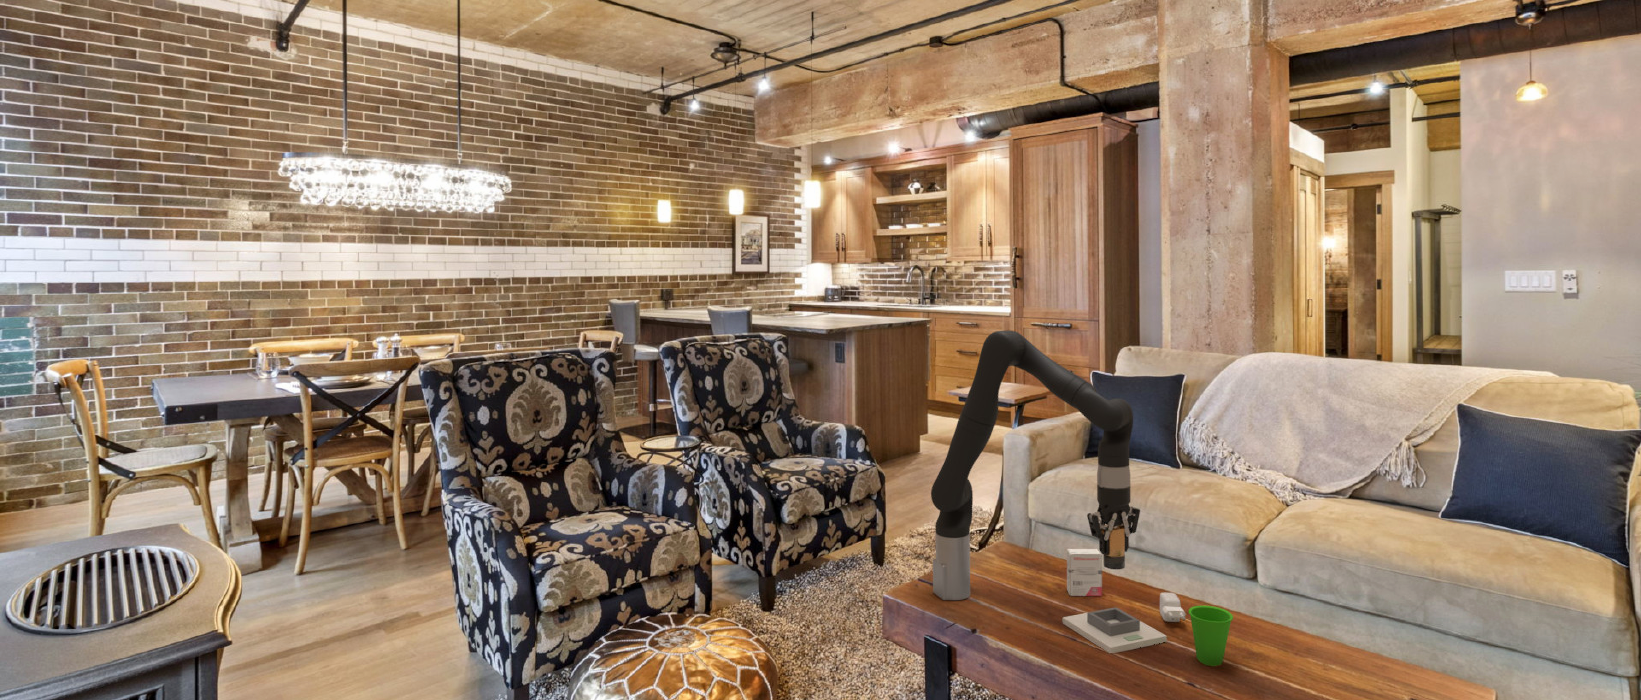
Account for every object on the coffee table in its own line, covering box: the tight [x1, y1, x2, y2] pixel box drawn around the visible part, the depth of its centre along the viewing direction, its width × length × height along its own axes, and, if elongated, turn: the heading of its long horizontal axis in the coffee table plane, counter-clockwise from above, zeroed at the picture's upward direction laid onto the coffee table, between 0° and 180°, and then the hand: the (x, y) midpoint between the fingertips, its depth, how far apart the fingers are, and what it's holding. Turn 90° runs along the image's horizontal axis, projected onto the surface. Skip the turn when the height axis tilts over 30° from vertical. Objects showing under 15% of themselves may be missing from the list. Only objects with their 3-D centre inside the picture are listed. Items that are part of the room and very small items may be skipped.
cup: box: [1188, 604, 1234, 667], centre depth 184 cm, size 9×9×11 cm
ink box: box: [1066, 548, 1103, 597], centre depth 224 cm, size 9×5×12 cm, turn 84°
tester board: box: [1062, 606, 1168, 654], centre depth 200 cm, size 16×18×4 cm
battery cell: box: [1102, 524, 1126, 570], centre depth 199 cm, size 5×5×10 cm
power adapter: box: [1159, 592, 1187, 623], centre depth 205 cm, size 11×5×6 cm, turn 171°
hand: (1114, 552), depth 199 cm, fingers closed on battery cell, 4 cm apart
